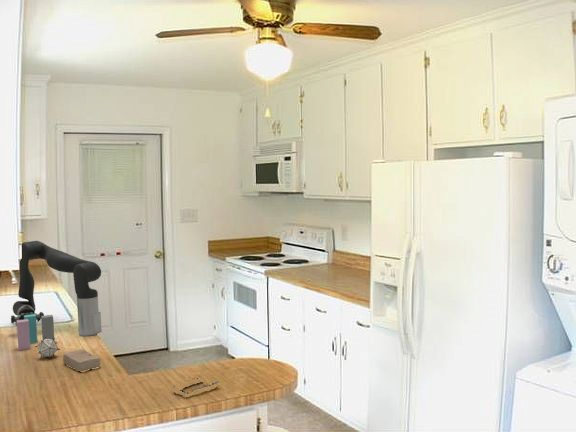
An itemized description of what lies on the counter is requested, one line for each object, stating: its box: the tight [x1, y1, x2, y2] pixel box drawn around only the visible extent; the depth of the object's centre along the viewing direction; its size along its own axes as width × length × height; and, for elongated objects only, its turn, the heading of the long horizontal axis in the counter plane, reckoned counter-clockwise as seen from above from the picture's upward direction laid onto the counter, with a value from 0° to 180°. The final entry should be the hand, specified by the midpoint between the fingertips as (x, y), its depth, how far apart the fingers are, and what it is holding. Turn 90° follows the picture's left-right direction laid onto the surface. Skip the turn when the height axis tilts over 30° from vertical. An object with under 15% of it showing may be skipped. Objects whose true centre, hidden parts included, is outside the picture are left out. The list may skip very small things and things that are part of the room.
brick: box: [62, 349, 101, 371], centre depth 220 cm, size 17×8×5 cm, turn 42°
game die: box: [34, 337, 61, 360], centre depth 232 cm, size 9×8×10 cm
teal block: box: [24, 314, 38, 345], centre depth 258 cm, size 4×4×12 cm
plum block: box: [16, 319, 31, 351], centre depth 248 cm, size 4×4×12 cm
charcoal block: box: [40, 314, 56, 342], centre depth 255 cm, size 4×4×12 cm
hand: (28, 320), depth 268 cm, fingers open, 8 cm apart
